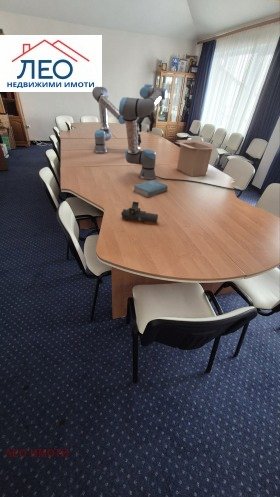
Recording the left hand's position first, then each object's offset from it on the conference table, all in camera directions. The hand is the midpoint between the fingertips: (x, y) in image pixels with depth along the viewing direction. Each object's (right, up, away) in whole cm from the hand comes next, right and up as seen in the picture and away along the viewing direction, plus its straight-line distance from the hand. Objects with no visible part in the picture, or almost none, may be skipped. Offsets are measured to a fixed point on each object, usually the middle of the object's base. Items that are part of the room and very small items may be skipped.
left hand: (134, 149), depth 268 cm
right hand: (+12, -7, -55) cm, 57 cm away
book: (+15, -74, -89) cm, 117 cm away
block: (0, -4, +3) cm, 5 cm away
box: (+59, -41, -41) cm, 83 cm away
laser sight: (+6, -103, -129) cm, 165 cm away
